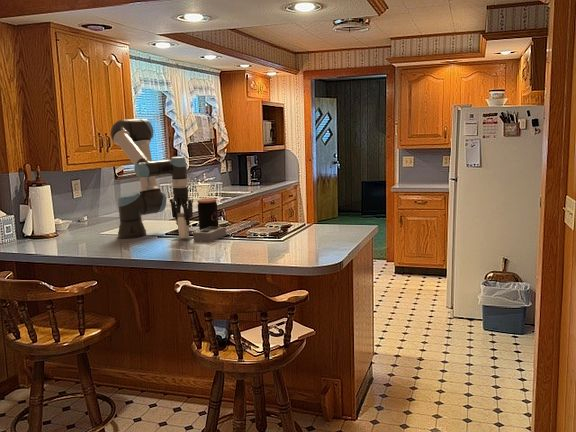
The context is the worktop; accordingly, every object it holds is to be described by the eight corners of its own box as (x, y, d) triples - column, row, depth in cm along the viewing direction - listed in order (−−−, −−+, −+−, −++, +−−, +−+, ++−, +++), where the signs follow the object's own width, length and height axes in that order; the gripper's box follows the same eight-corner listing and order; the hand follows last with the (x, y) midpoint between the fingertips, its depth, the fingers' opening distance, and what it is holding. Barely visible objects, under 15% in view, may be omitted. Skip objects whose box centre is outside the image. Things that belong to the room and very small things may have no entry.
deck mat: (171, 241, 291) (171, 240, 290) (182, 237, 300) (182, 236, 299) (187, 242, 286) (187, 241, 286) (198, 238, 295) (198, 237, 295)
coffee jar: (215, 233, 305) (212, 201, 302) (196, 233, 307) (194, 201, 304) (221, 229, 315) (219, 198, 312) (203, 229, 317) (201, 198, 314)
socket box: (193, 242, 287) (193, 232, 286) (210, 235, 301) (209, 226, 300) (210, 243, 282) (209, 233, 282) (226, 236, 297) (225, 226, 296)
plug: (179, 237, 292) (177, 213, 290) (183, 236, 295) (181, 212, 293) (185, 238, 291) (183, 213, 288) (188, 236, 294) (187, 212, 291)
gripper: (162, 187, 288) (166, 231, 293) (189, 188, 281) (193, 233, 286) (171, 185, 295) (174, 228, 299) (197, 186, 288) (201, 230, 292)
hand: (183, 231), depth 292 cm, fingers closed on plug, 4 cm apart
